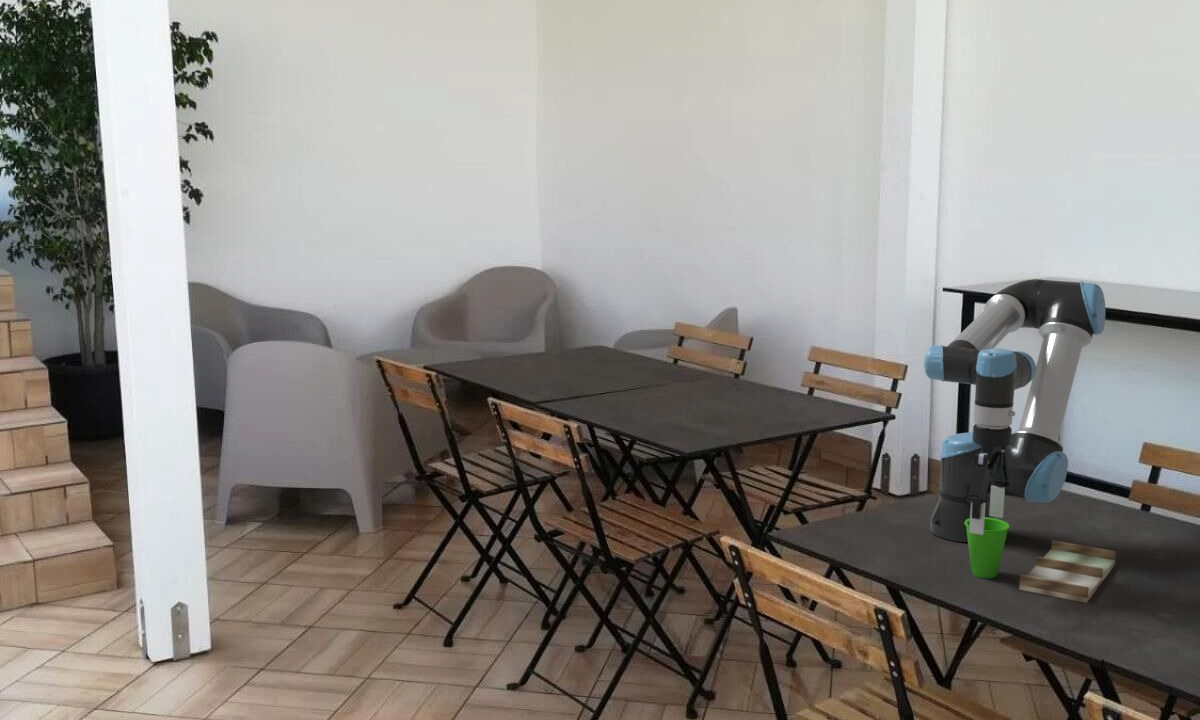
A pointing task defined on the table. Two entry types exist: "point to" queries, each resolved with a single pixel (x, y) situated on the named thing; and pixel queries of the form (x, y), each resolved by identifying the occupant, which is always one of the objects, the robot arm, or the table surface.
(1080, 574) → the wooden divided tray
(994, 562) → the cup
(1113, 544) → the table surface
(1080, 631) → the table surface
